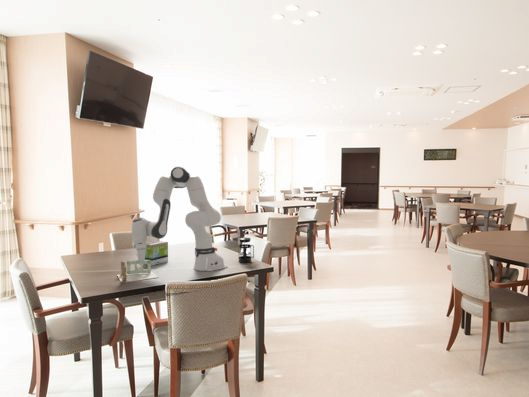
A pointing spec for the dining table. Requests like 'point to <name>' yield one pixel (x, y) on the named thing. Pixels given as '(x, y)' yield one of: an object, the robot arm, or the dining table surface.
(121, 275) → the hinge post
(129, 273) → the gate
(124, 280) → the latch post
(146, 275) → the mat
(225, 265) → the robot arm
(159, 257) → the tea box
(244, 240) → the french press
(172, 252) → the dining table surface
